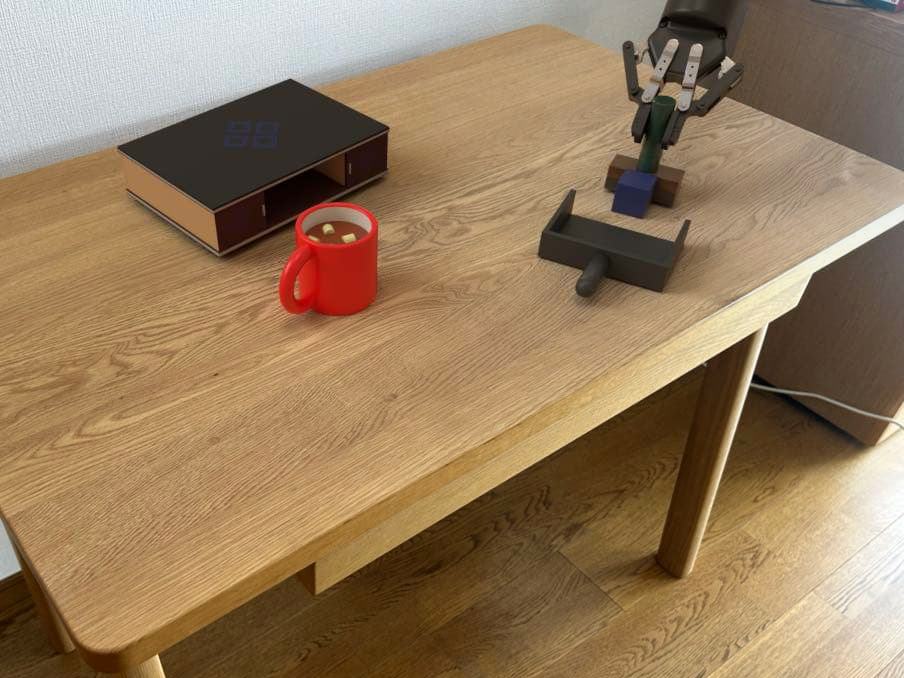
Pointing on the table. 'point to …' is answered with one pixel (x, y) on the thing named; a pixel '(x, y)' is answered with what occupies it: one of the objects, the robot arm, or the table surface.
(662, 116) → the brush
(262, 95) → the low tv stand
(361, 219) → the mug
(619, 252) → the dustpan
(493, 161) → the table surface
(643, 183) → the navy blue toy block
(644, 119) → the robot arm
